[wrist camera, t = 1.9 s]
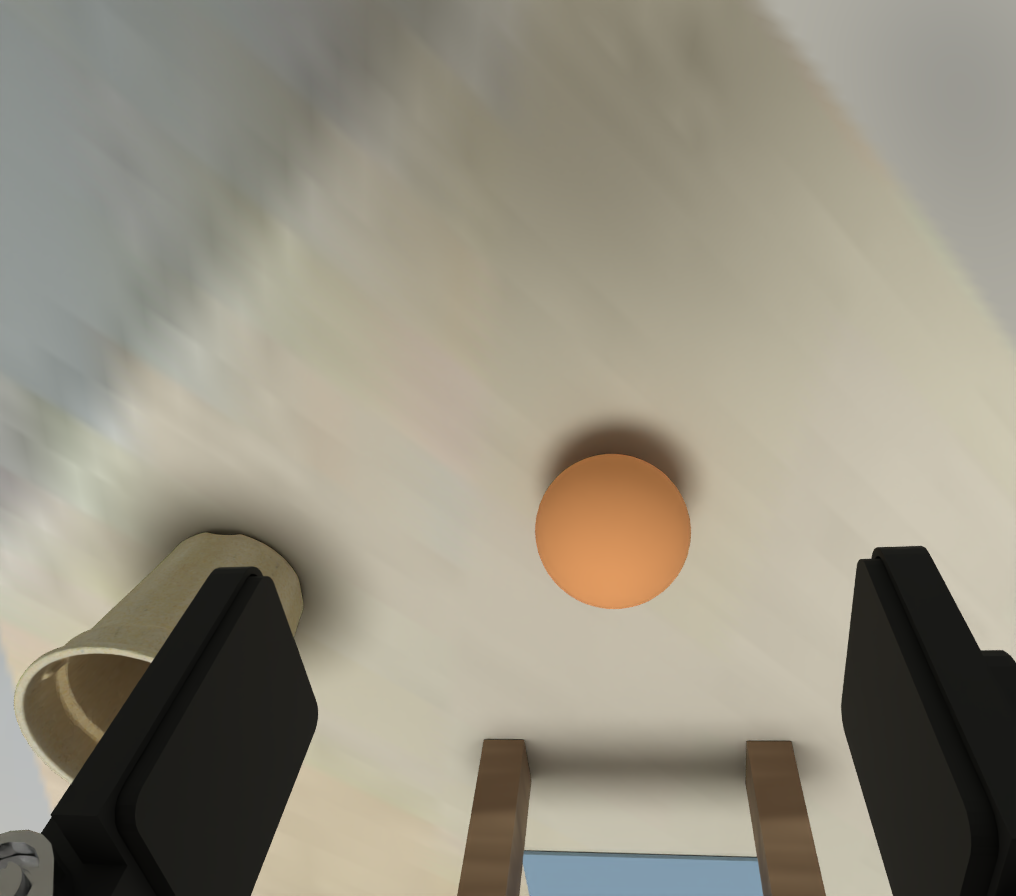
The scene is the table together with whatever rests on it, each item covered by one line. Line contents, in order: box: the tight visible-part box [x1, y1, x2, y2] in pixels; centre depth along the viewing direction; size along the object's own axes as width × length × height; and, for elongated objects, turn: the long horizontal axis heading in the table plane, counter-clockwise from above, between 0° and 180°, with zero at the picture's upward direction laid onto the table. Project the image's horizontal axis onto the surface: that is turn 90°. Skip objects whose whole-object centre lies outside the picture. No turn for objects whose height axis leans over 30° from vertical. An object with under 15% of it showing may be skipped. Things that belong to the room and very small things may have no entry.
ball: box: [535, 454, 691, 609], centre depth 29 cm, size 6×6×6 cm
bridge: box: [457, 740, 826, 896], centre depth 35 cm, size 3×14×9 cm, turn 98°
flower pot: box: [14, 532, 303, 785], centre depth 32 cm, size 9×9×9 cm
